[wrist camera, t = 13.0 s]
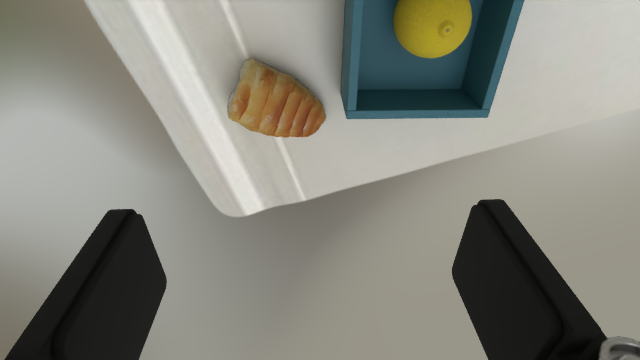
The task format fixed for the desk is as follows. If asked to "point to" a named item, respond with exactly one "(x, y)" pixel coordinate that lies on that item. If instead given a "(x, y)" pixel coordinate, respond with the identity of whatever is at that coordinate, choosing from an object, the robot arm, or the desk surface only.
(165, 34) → the desk surface
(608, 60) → the desk surface
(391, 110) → the teal open bin
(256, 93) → the pastry
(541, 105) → the desk surface
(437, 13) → the lemon
